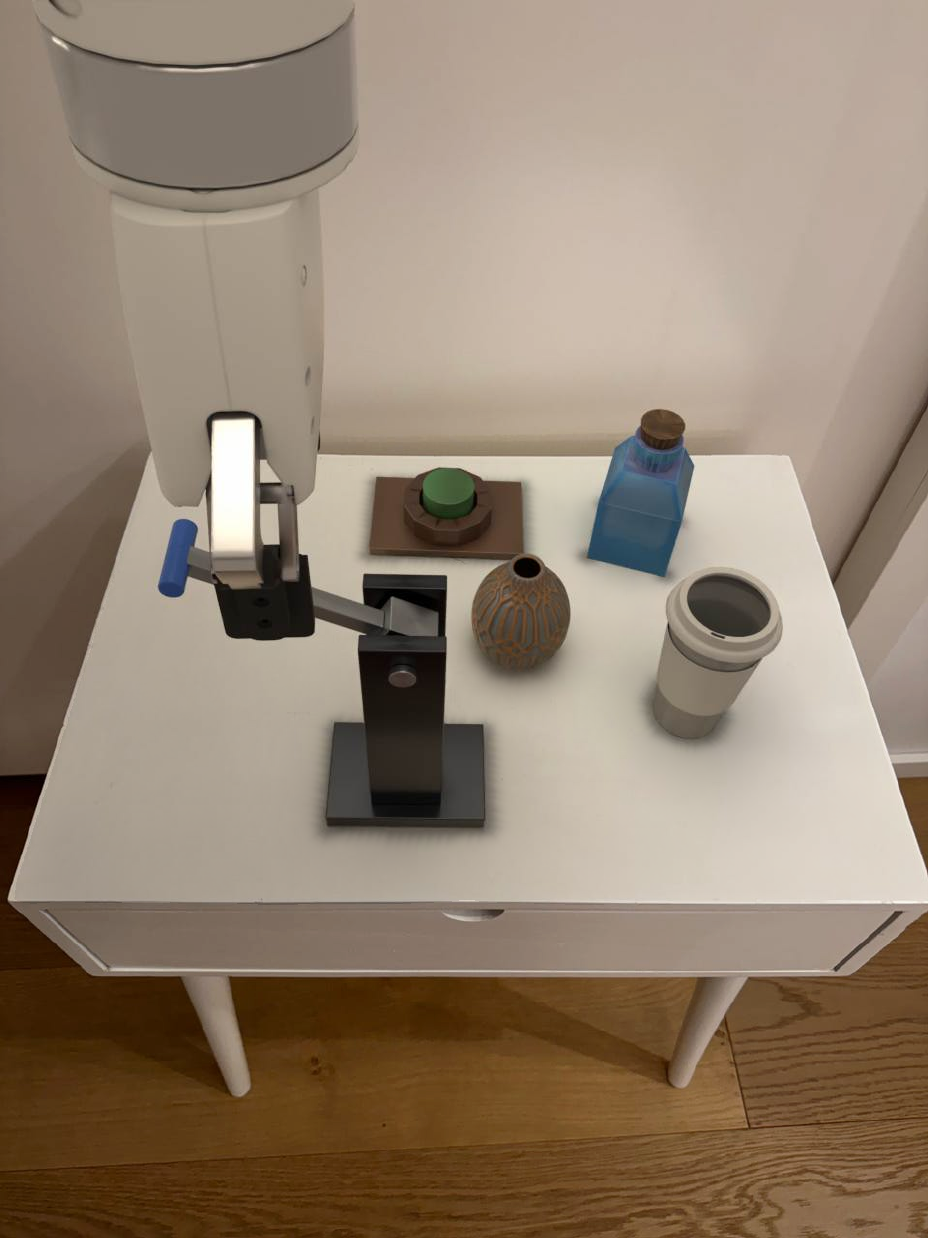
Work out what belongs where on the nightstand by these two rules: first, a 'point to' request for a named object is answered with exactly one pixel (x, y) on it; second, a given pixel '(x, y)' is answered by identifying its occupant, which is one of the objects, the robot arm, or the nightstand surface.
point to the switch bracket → (405, 728)
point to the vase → (521, 613)
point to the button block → (447, 521)
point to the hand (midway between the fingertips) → (277, 533)
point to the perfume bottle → (644, 496)
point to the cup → (712, 647)
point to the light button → (448, 493)
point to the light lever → (327, 606)
